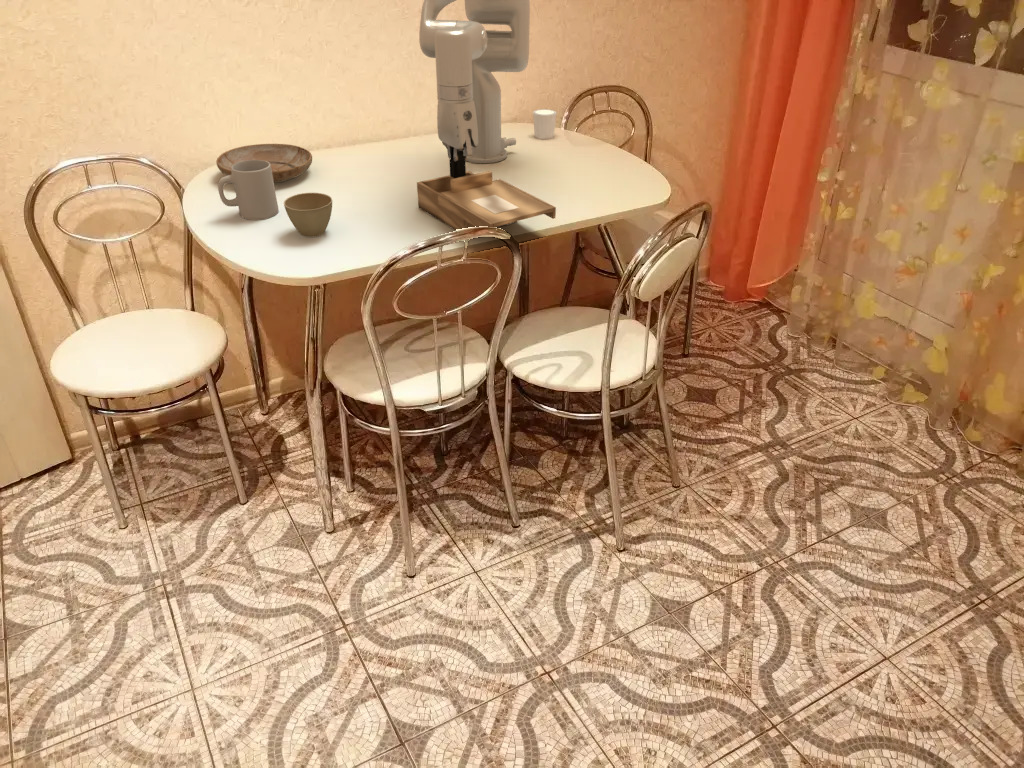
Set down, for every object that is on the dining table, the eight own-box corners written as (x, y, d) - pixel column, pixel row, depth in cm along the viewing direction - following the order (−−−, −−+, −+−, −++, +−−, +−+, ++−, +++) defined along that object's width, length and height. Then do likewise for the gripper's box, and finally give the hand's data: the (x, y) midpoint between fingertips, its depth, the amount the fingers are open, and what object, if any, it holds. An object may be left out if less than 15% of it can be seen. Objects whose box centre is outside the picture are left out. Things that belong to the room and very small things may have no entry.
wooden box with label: (499, 189, 176) (499, 167, 173) (555, 218, 162) (556, 195, 159) (438, 203, 168) (437, 181, 165) (490, 235, 154) (490, 211, 151)
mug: (273, 203, 181) (265, 157, 174) (282, 216, 174) (274, 168, 168) (221, 212, 176) (210, 165, 170) (228, 225, 170) (217, 176, 163)
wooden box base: (469, 195, 186) (469, 170, 182) (517, 222, 172) (517, 196, 169) (418, 207, 179) (416, 182, 176) (464, 236, 165) (463, 209, 162)
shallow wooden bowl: (235, 198, 184) (230, 178, 181) (209, 170, 200) (205, 151, 197) (327, 181, 194) (325, 161, 191) (296, 156, 210) (293, 137, 207)
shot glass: (530, 139, 224) (531, 114, 220) (534, 132, 229) (534, 108, 226) (554, 140, 223) (555, 115, 219) (557, 133, 229) (558, 109, 225)
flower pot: (279, 237, 164) (273, 205, 160) (307, 220, 172) (302, 189, 168) (318, 245, 161) (313, 212, 157) (345, 228, 169) (341, 196, 165)
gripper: (489, 96, 160) (490, 182, 170) (451, 82, 170) (454, 164, 180) (458, 102, 156) (461, 189, 167) (421, 87, 167) (426, 170, 177)
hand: (458, 176), depth 174 cm, fingers closed
